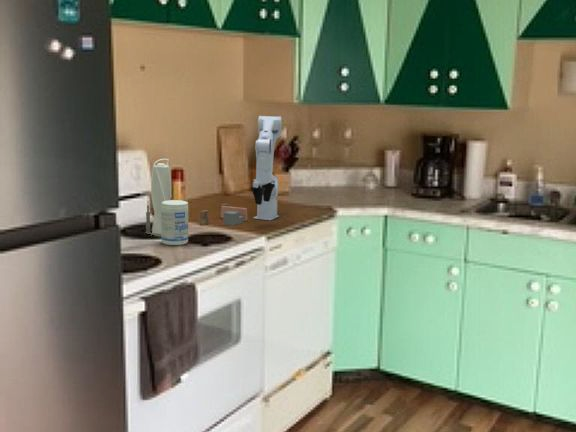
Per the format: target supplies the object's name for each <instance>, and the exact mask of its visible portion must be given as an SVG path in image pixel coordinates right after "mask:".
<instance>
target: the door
mask: <svg viewBox="0 0 576 432" xmlns="http://www.w3.org/2000/svg"><path fill="white" fill-rule="evenodd" d="M228 211H235V212H239V216H244V222H245V221H248V208H247V207H246V208H245V207H236V206H229V205H228V206H221V205H220V218H221V219H223V216H224V213H225V212H228Z"/></svg>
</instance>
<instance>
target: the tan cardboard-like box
mask: <svg viewBox="0 0 576 432" xmlns="http://www.w3.org/2000/svg"><path fill="white" fill-rule="evenodd" d="M221 206H228V207H229V204H228V203H221V204H220V207H221ZM208 224H209V210H208V209H203V210H201V211H199V226H207V225H208Z"/></svg>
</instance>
